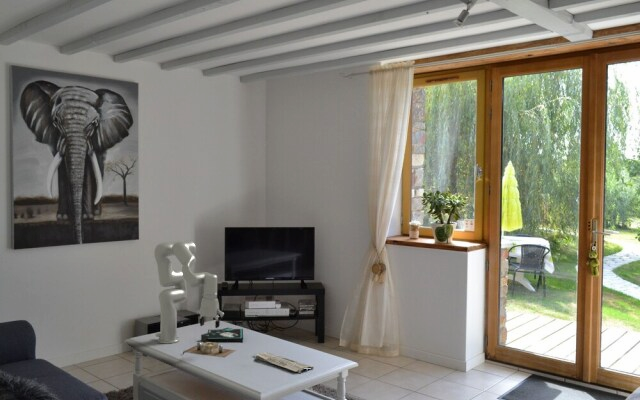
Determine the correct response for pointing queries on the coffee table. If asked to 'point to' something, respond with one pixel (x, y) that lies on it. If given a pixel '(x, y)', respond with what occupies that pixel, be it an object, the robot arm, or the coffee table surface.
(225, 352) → the board
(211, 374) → the coffee table surface
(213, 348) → the frame
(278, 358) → the newspaper
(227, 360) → the coffee table surface
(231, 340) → the wall plaque
